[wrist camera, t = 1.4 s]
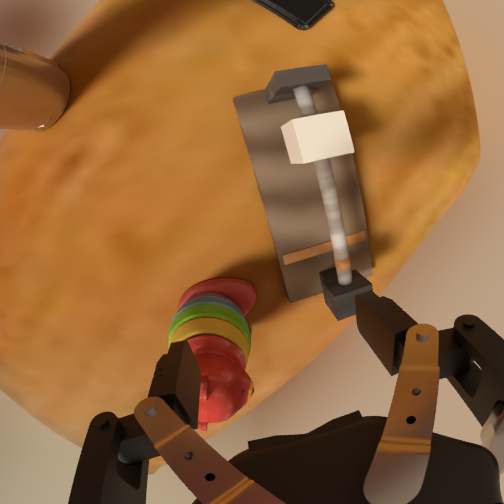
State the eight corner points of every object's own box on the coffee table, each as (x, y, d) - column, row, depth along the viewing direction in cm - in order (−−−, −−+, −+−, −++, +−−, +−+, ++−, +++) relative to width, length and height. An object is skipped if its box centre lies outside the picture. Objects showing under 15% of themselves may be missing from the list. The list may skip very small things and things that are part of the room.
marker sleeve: (280, 126, 27) (291, 119, 22) (325, 117, 27) (343, 110, 22) (290, 163, 28) (304, 163, 23) (334, 153, 28) (354, 152, 23)
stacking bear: (243, 348, 39) (255, 450, 22) (173, 337, 38) (151, 437, 21) (259, 282, 36) (287, 375, 19) (181, 268, 35) (149, 357, 18)
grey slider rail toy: (232, 100, 29) (235, 77, 20) (327, 82, 29) (358, 59, 21) (287, 297, 37) (305, 335, 29) (367, 271, 37) (401, 299, 29)
